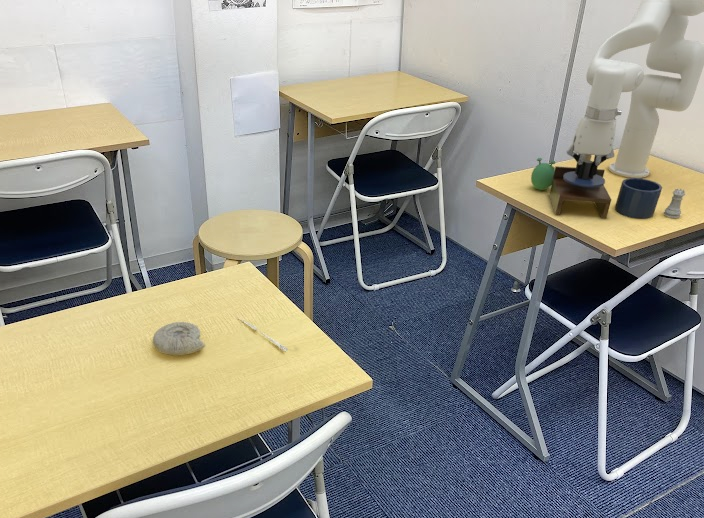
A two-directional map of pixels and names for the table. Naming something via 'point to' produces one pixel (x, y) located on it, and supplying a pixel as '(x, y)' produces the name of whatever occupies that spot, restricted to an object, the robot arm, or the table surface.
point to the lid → (584, 177)
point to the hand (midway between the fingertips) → (584, 176)
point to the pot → (638, 198)
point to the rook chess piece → (675, 205)
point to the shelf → (577, 192)
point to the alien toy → (543, 175)
